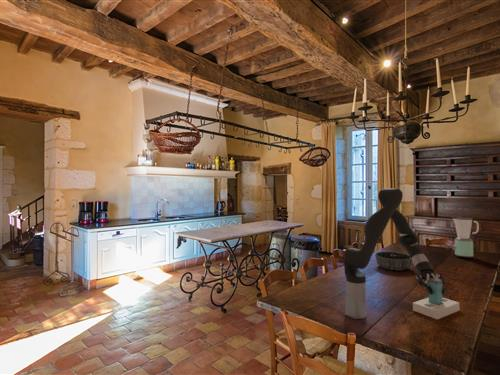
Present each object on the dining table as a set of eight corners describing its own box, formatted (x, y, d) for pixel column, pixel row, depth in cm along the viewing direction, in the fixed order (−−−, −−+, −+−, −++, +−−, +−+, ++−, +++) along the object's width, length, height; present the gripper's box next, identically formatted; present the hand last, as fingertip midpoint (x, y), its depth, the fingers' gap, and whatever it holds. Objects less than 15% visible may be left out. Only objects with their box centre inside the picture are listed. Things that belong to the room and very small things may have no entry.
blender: (451, 257, 258) (451, 217, 258) (453, 254, 269) (452, 216, 268) (479, 260, 246) (478, 218, 246) (479, 257, 257) (478, 217, 257)
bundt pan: (419, 268, 226) (419, 255, 226) (401, 275, 211) (400, 261, 211) (386, 261, 248) (386, 249, 248) (368, 267, 233) (368, 254, 233)
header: (437, 319, 141) (437, 310, 141) (413, 310, 151) (412, 302, 151) (459, 310, 150) (459, 302, 150) (435, 302, 161) (435, 294, 161)
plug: (437, 309, 148) (437, 281, 148) (428, 305, 152) (428, 278, 152) (442, 307, 150) (442, 279, 150) (433, 304, 154) (433, 277, 154)
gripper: (412, 261, 158) (428, 291, 146) (437, 260, 159) (455, 289, 147) (406, 268, 163) (421, 297, 151) (430, 267, 164) (447, 296, 153)
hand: (437, 293), depth 149 cm, fingers closed on plug, 5 cm apart
